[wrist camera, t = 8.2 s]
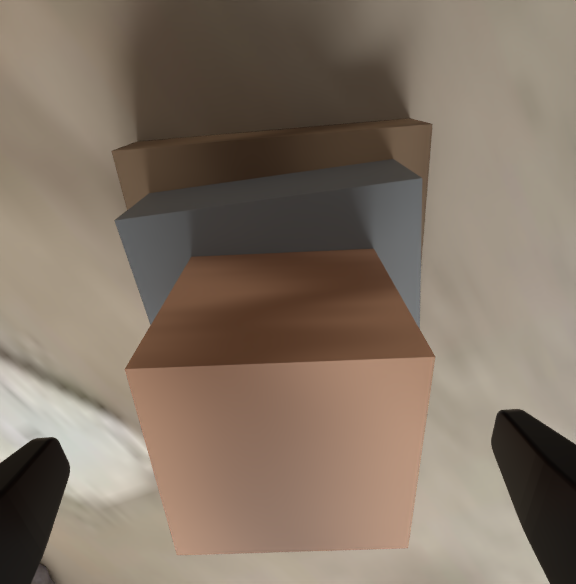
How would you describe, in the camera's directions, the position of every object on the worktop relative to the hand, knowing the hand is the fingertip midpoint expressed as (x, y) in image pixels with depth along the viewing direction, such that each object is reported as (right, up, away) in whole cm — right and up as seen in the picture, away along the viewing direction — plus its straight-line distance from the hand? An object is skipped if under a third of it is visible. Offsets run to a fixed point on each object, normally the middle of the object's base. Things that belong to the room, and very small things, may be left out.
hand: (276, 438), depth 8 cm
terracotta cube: (0, +2, +4) cm, 4 cm away
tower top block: (0, +3, +7) cm, 7 cm away
